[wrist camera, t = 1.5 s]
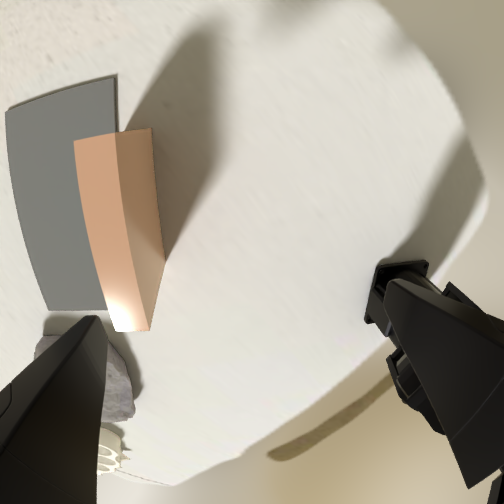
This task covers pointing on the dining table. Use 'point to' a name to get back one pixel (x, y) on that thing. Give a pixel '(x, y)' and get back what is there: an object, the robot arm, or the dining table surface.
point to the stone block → (107, 384)
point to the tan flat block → (123, 222)
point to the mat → (58, 189)
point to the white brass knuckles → (109, 452)
